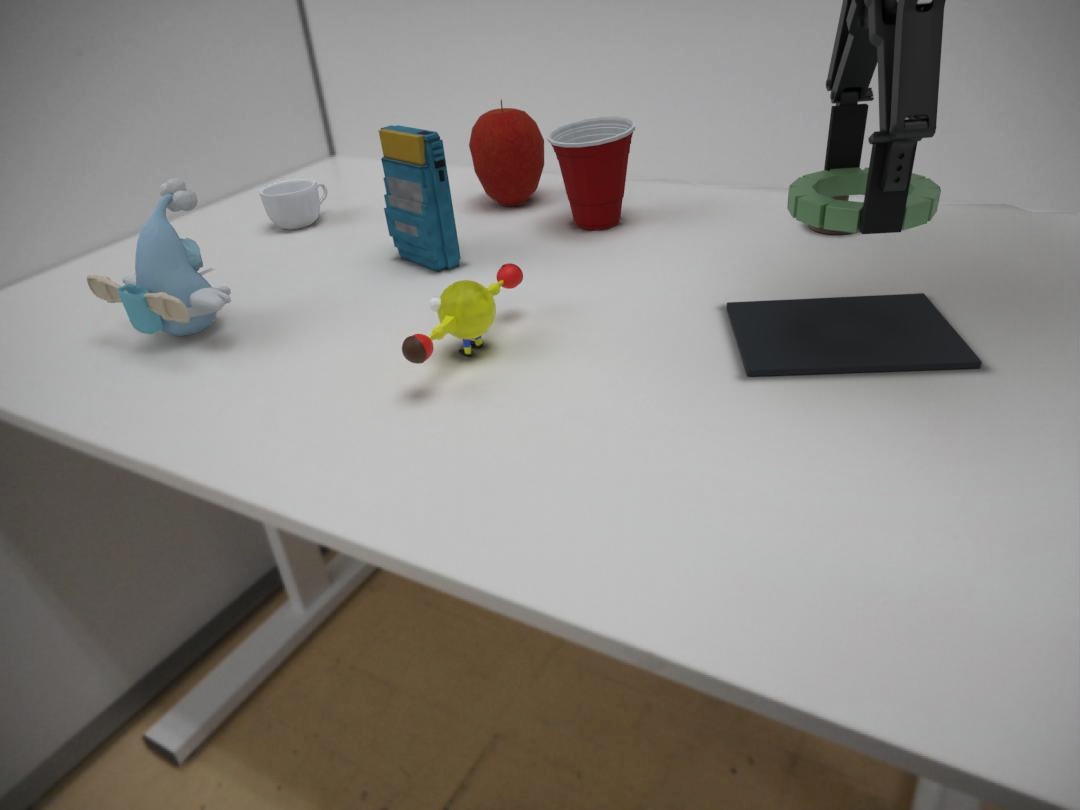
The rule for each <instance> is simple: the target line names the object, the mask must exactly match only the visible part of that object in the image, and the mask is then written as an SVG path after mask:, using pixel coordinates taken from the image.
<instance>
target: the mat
mask: <svg viewBox="0 0 1080 810" xmlns="http://www.w3.org/2000/svg"><path fill="white" fill-rule="evenodd" d="M726 310H727V313H728V317H729V319H730V323H731V326H732V329H733V333H734V336H735V340H736V342H737V345H738V349H739V353H740V356H741V359H742V362H743V365H744V369H745V372H746V375H747V377H763V376H764V377H765V376H766V377H767V376H794V375H821V374H823V375H824V374H848V373H849V374H850V373H851V374H853V373H878V372H906V371H907V372H908V371H932V370H934V371H935V370H960V369H961V370H963V369H980V368H981V367H982V363H983V362H982V360H981V359H980V358H979V357H978V355H977V354H976V353H975V351H973V350H972V348H971V347H970V346H969V344H968V343H966V341H965V340H964V339H963V338H962V337H961V335H960V334H959V333H958V332H957V330H956V329H955V328H954V327H953V326H952V325H951V324H950V322H949V321H948V320H947V319H946V318H945V316H944V315H943V314H942V313H941V312H940V310H939V309H938V308H937V307H936V305H934V303H933V302H932V301H931V300H930V299H929V298H928V296H927V295H926V294H925V293H924V292H921V293H919V292H918V293H901V294H897V293H896V294H879V295H878V294H877V295H858V296H857V295H856V296H855V295H854V296H838V297H837V296H836V297H815V298H812V297H811V298H794V299H774V300H773V299H772V300H753V301H752V300H751V301H749V300H748V301H730V302H726Z"/></svg>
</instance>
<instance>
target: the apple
mask: <svg viewBox="0 0 1080 810" xmlns="http://www.w3.org/2000/svg"><path fill="white" fill-rule="evenodd" d="M468 147H469V152H470V155H471V159H472V165H473V170H474V174H475V175H476V177H477V179H478V181H479V183H480V185H481V187H482V188H483V191H484V192H485V194H486V195H487V196H488V197H489V198H491V199H492V200H493V201H494V202H496V203H497V204H498V205H500V206H503V207H509V208H512V207H518V206H521V205H523V204H525V202H526V201H527V200H528V199H529V198H531V196H533V194H534V193H536V191H537V189H538V187H539V184H540V181H541V178H542V174H543V171H544V168H545V139H544V137H543V135H542V132H541V130H540V128H539V126H538V123H537V121H536V120H535V119H533V118H532V117H531V116H530V114H529V113H527V112H526V111H525V110H521V109H519V108H512V107H503V99H502V98H501V99H500V108H495V109H490V110H488V111H486V112H484V113H483V114H481V115H480V116H479V117H478V118H477V120H476V121H475V123H474V124H473V126H472V127H471V132H470V138H469V142H468Z"/></svg>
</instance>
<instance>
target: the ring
mask: <svg viewBox="0 0 1080 810" xmlns="http://www.w3.org/2000/svg"><path fill="white" fill-rule="evenodd" d="M868 171H869V167H866V166H865V167H864V168H863V169H862V168H861V166H860V167H856V168H841V169H830V171H826V170H824V169H823V170H819V171H816V172H812V173H807V174H803V175H802V176H799V177H798V178H797V179H795V180H794V181H793V182H791V184H789V187H788V192H787V202H786V203H787V205H786V209H787V211H788V213H789V214H790V216H791V217H792V219H795V220H796V221H798V222H801V223H803V224H805V225H808V226H809V225H811V226H814V227H817V228H820V227H823V226H824V229H826V230H835V231H843V232H851V233H852V234H857V233H858V232H859V231H860V224H861V217H862V211H863V204H864V201H854V200H853V201H852V200H849V201H844V200H836V199H833V198H830V197H834V196H845V195H849V196H859V195H860V196H865V191H866V184H867V177H868ZM941 193H942V188H941V186H940V185H938V183H936V182H935V181H934V180H933V179H931V178H929V177H927V178H926V176H925V175H921V174H917V173H913V172H912V175H911V181H910V186H909V192H908V197H907V203H906V208H905V214H904V219H903V225H902V230H901V231H907V230H910V229H913V228H916V227H920V226H923V225H926V224H928V222H931V221H932V220H933V218H934V216H935V215H936V214H937V212H938V207H939V203H940V198H941Z"/></svg>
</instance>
